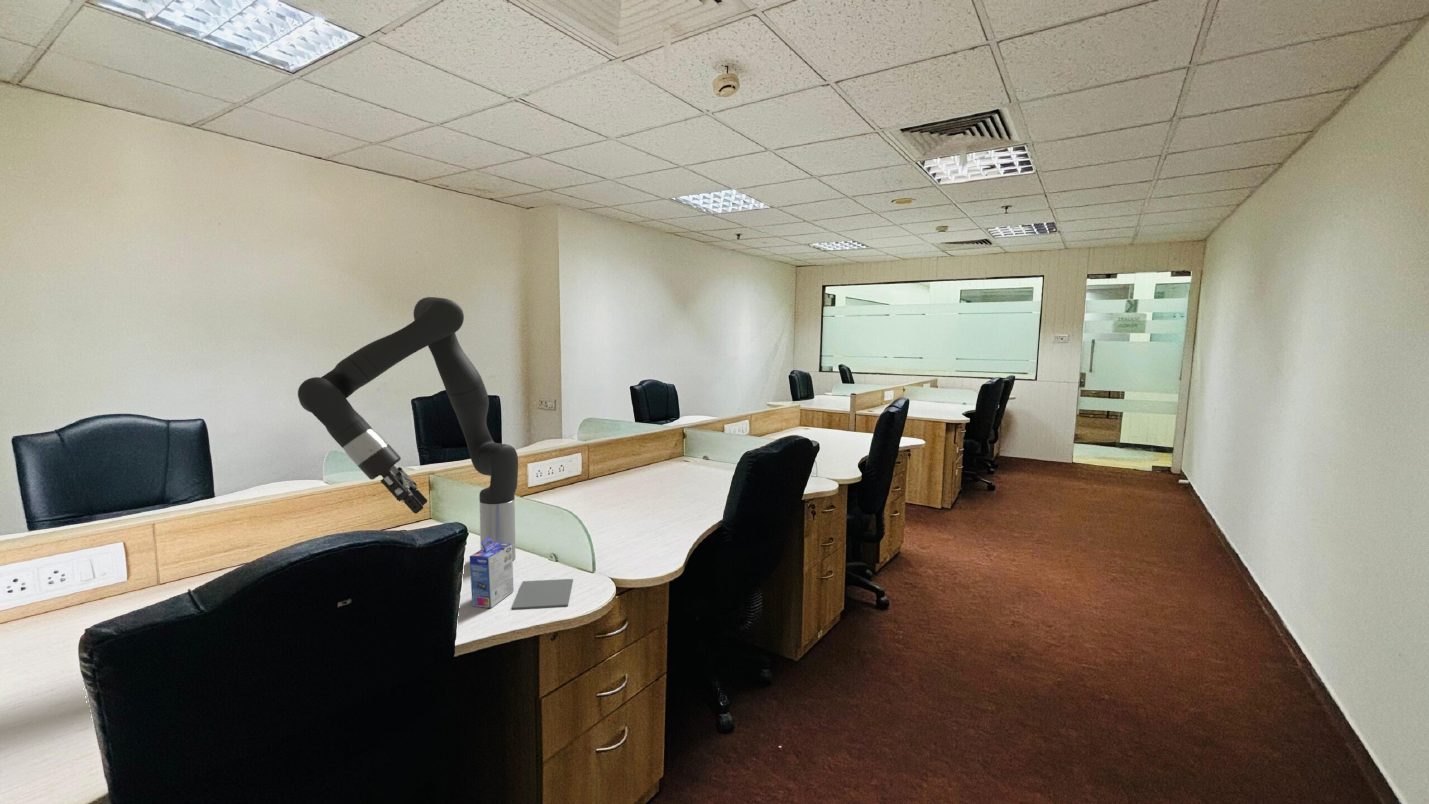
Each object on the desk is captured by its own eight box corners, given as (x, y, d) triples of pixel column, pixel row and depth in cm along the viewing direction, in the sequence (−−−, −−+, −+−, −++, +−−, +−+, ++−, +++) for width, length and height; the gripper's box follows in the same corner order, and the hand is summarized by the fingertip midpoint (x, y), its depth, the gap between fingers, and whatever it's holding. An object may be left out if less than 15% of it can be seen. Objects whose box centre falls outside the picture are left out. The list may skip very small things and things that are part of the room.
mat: (522, 582, 143) (522, 581, 143) (573, 580, 145) (573, 578, 145) (511, 609, 129) (511, 607, 129) (567, 606, 131) (567, 604, 131)
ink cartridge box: (494, 589, 139) (493, 532, 138) (514, 591, 138) (513, 534, 137) (469, 606, 130) (468, 545, 129) (491, 609, 129) (489, 547, 127)
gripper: (381, 445, 120) (433, 502, 124) (392, 440, 133) (439, 492, 137) (349, 468, 118) (403, 525, 122) (363, 461, 131) (411, 512, 135)
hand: (422, 507), depth 129 cm, fingers open, 8 cm apart
